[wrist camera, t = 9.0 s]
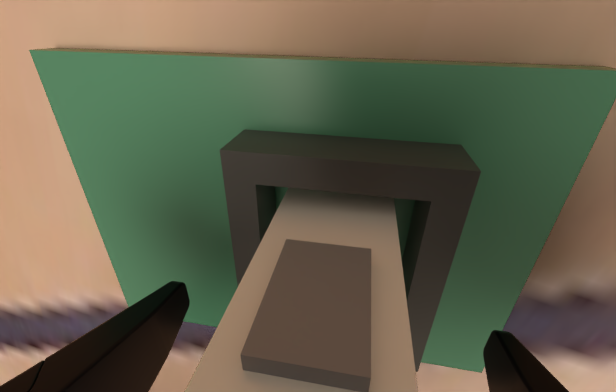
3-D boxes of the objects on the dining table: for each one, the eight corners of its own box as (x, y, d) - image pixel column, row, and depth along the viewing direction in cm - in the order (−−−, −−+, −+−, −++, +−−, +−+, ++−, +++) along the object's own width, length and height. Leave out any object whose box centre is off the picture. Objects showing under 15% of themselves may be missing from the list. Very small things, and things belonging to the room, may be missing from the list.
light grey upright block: (376, 292, 13) (379, 555, 7) (295, 281, 14) (225, 514, 7) (394, 176, 10) (430, 427, 4) (292, 168, 11) (178, 377, 4)
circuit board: (475, 352, 15) (496, 420, 13) (142, 298, 18) (103, 344, 15) (603, 66, 9) (701, 84, 6) (55, 48, 11) (-38, 55, 9)
